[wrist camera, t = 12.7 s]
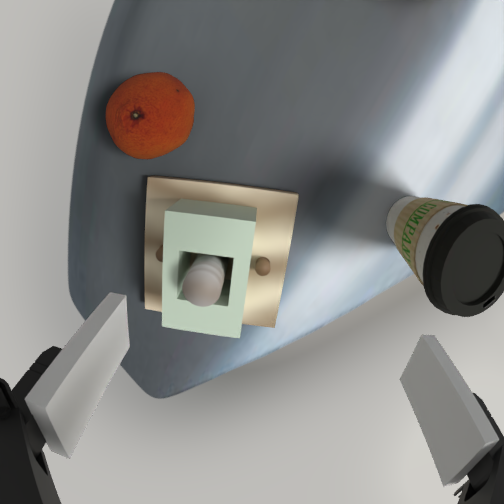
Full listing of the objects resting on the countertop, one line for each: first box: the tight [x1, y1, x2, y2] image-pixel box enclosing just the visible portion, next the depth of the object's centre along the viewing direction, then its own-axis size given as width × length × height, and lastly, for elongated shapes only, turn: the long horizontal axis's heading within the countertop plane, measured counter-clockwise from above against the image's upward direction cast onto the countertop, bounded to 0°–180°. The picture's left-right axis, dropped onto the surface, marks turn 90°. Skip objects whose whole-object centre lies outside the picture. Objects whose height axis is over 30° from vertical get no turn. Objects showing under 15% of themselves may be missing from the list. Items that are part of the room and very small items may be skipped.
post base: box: [144, 176, 299, 328], centre depth 32 cm, size 16×16×10 cm
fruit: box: [106, 72, 195, 159], centre depth 27 cm, size 9×9×8 cm
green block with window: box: [162, 199, 257, 338], centre depth 32 cm, size 12×8×6 cm, turn 173°
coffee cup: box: [386, 196, 504, 317], centre depth 27 cm, size 10×10×15 cm
